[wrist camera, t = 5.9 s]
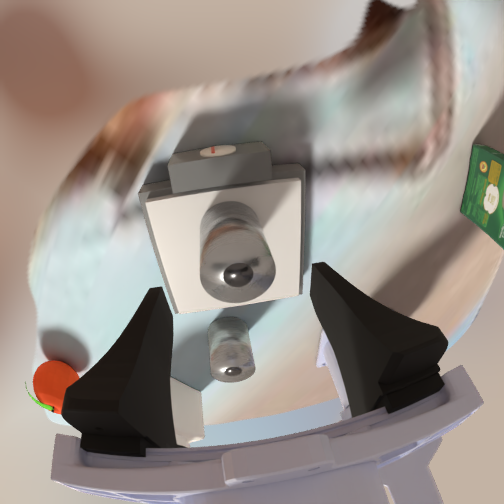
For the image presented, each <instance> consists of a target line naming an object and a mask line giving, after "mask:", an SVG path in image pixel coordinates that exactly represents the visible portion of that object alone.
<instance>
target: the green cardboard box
mask: <svg viewBox="0 0 504 504" xmlns="http://www.w3.org/2000/svg"><path fill="white" fill-rule="evenodd" d="M460 212H461V213H462V214H464V215H465V216H466V217H467V218H468V219H470V220H471V221H472V222H473V223H475V224H476V225H477V226H478V227H480V228H481V229H482V230H483V231H484V232H485V233H486V234H488V235H489V236H490V237H491V238H492V239H493V240H494V241H495V242H496V243H497V244H498V245H499V246H500V247H502V248H503V249H504V154H502V153H500V152H499V151H497V150H494V149H493V148H490V147H488V146H486V145H481V144H473V148H472V155H471V158H470V168H469V174H468V179H467V184H466V189H465V193H464V196H463V203H462V207H461V210H460Z"/></svg>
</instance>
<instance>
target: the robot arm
mask: <svg viewBox="0 0 504 504" xmlns="http://www.w3.org/2000/svg"><path fill="white" fill-rule="evenodd" d="M310 297H311V300H312V303H313V306H314V309H315V312H316V315H317V317H318V319H319V321H320V323H321V325H322V327H323V329H322V332H321V338H320V344H319V350H318V356H317V361H316V366H317V367H323V366H328V369H329V371H330V374H331V376H332V379H333V382H334V384H335V387H336V390H337V392H338V395H339V398H340V400H341V403H342V406H343V408H344V411H342V412H340V414H341V417H342V420H341V421H339V422H338V423H334V424H331V425H327V426H323V427H319V428H315V429H311V430H307V431H304V432H299V433H294V434H290V435H285V436H280V437H275V438H270V439H264V440H258V441H251V442H244V443H237V444H229V445H219V446H208V447H192V448H178V447H177V441H176V436H175V429H174V422H173V413H172V403H171V388H170V371H171V358H172V346H173V315H172V313H171V310H170V308H169V305H168V302H167V299H166V297H165V294H164V291H163V288H162V287H155V288H150V289H149V290H148V292H147V294H146V295H145V297H144V299H143V301H142V302H141V304H140V306H139V307H138V309H137V311H136V312H135V314H134V316H133V317H132V319H131V320H130V322H129V324H128V325H127V327H126V328H125V329H124V331H123V332H122V334H121V335H120V337H119V338H118V339H117V341H116V342H115V343H114V345H113V346H112V347H111V348H110V349H109V351H108V352H107V353H106V354H105V355H104V356H103V357H102V358H101V359H100V360H99V361H98V362H97V363H96V364H95V365H94V366H93V367H92V368H91V369H90V370H89V371H88V372H87V373H85V374H84V375H83V376H82V377H81V378H79V379H78V380H77V381H75V382H74V383H73V384H72V385H70V386H69V387H67V388H66V391H65V395H64V400H63V405H62V410H61V415H62V417H63V418H64V419H65V420H66V421H67V422H68V423H69V424H70V425H72V426H73V427H74V428H76V429H77V430H79V431H80V432H81V433H82V437H81V439H80V438H78V437H74V436H69V435H63V434H56V438H55V444H54V452H53V460H52V470H51V480H53V481H55V482H57V483H59V484H62V485H64V486H67V487H69V488H72V489H75V490H77V491H80V492H83V493H88V494H92V495H97V496H102V497H107V498H113V499H118V500H125V501H131V502H139V503H148V504H389V501H388V498H387V495H386V492H385V489H384V487H383V486H387V487H388V490H389V492H390V494H391V497H392V499H393V501H394V504H444V503H443V500H442V498H441V495H440V493H439V490H438V488H437V485H436V483H435V480H434V478H433V476H432V473H431V471H430V469H429V466H428V465H429V463H430V461H431V460H432V458H433V456H434V455H435V453H436V451H437V449H438V447H439V446H440V444H441V442H442V437H441V436H442V435H444V434H446V433H447V432H449V431H451V430H452V429H454V428H456V427H457V426H459V425H460V424H461V423H462V422H464V421H465V420H466V419H467V418H468V417H469V416H470V415H472V414H473V413H474V412H475V411H476V410H477V409H478V408H480V406H482V405H483V403H484V401H483V399H482V398H481V396H480V394H479V392H478V391H477V389H476V387H475V385H474V384H473V382H472V380H471V379H470V377H469V375H468V374H467V372H466V370H465V369H464V367H463V366H462V365H460V366H458V367H456V368H454V369H453V370H451V371H449V372H447V373H445V374H444V375H443V376H440V375H439V373H438V372H439V371H440V367H439V366H438V364H437V363H438V362H439V360H440V359H441V357H442V356H443V354H444V353H445V351H446V349H447V346H448V340H447V339H446V337H445V336H444V334H443V333H442V332H441V330H440V329H439V327H437V326H433V325H430V324H426V323H423V322H420V321H417V320H414V319H412V318H409V317H407V316H404V315H402V314H400V313H398V312H395V311H394V310H391V309H389V308H387V307H386V306H384V305H382V304H380V303H379V302H377V301H375V300H373V299H372V298H370V297H369V296H367V295H366V294H364V293H363V292H362V291H360V290H359V289H357V288H356V287H355V286H353V285H352V284H351V283H349V282H348V281H347V280H346V279H344V278H343V277H342V276H341V275H339V274H338V273H337V272H336V271H335V270H333V269H332V268H331V267H330V266H329V265H327V264H326V263H325V262H320V263H314V264H312V273H311V287H310Z"/></svg>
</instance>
